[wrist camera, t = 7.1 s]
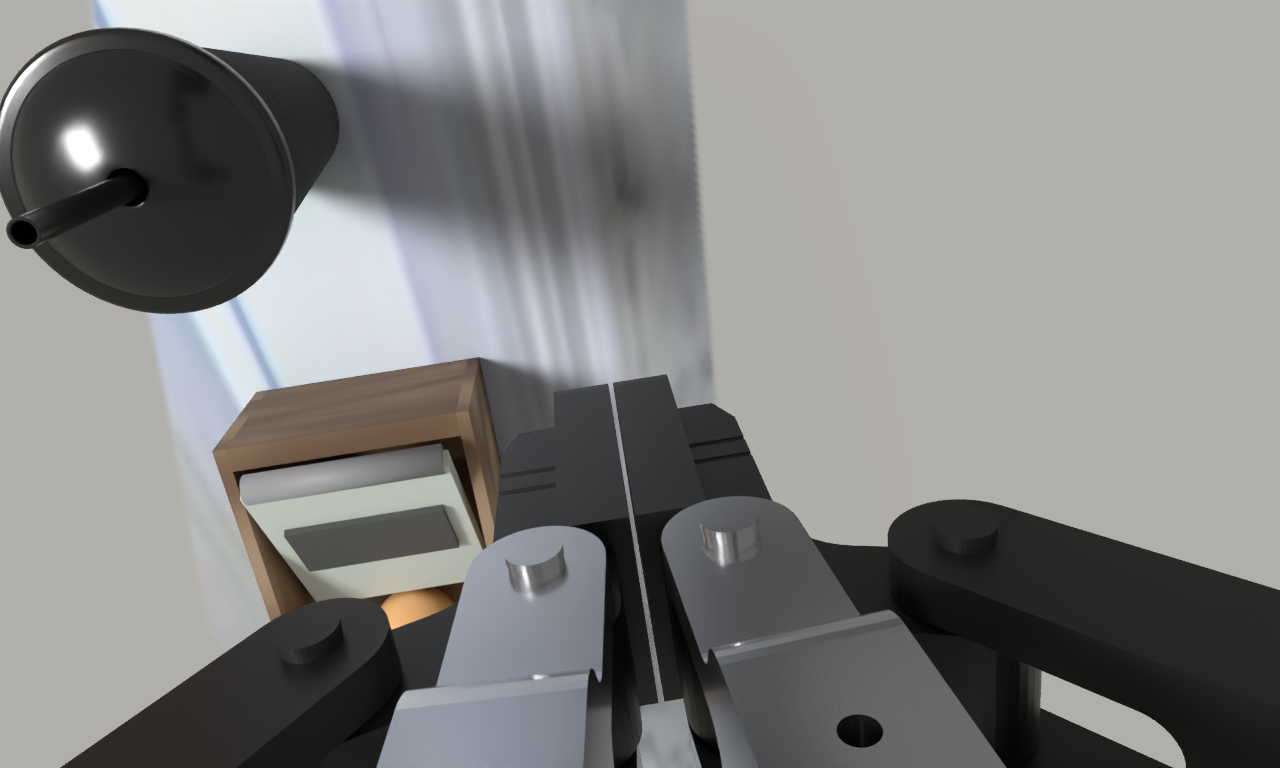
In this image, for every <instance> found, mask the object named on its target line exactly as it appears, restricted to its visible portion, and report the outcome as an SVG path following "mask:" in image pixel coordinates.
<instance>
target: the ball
mask: <svg viewBox="0 0 1280 768" xmlns="http://www.w3.org/2000/svg"><path fill="white" fill-rule="evenodd" d="M453 604H454V602H453V601H452V600H451V599H450V597H449V596H447V595H446V594H445V593H444V592H442V591H441V590H439V589H436V588H434V587H429V588H423V589H417V590H411V591H405V592H399V593H393V594H392V595H391V596H389V597H388V598H387V599H386V600H385V602H384V603H383V604H382V606H381V608H382V609H383V610H384V611H385V613H386V614H387V616H388V620H389V623H390V627H391V630H392V629H395V628H398V627H400V626H403V625H406V624H408V623H411V622H414V621H416V620H419V619H422V618H425V617H427V616H430V615H432V614H435V613H437V612H439V611H442V610H443V609H445V608H447V607H449V606H451V605H453Z"/></svg>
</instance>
